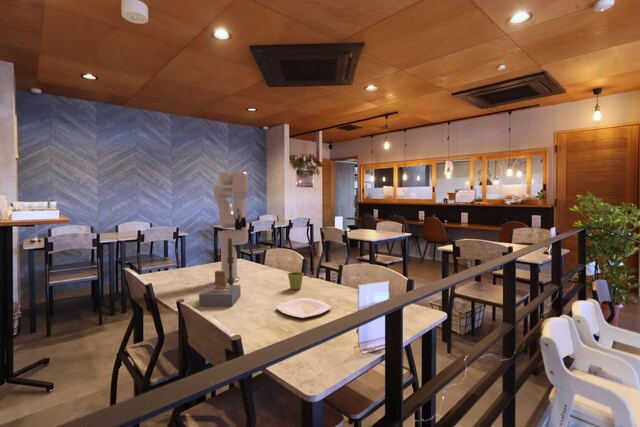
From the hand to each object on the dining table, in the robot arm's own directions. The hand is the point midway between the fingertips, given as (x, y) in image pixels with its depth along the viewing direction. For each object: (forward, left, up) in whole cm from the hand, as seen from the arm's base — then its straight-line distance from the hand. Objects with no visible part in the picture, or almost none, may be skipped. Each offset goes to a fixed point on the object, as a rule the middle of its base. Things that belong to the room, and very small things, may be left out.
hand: (240, 228), depth 176 cm
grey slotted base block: (+7, -9, -36) cm, 38 cm away
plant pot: (-15, +27, -36) cm, 48 cm away
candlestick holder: (-11, -9, -36) cm, 39 cm away
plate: (+19, +34, -37) cm, 54 cm away
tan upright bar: (+7, -9, -35) cm, 37 cm away
